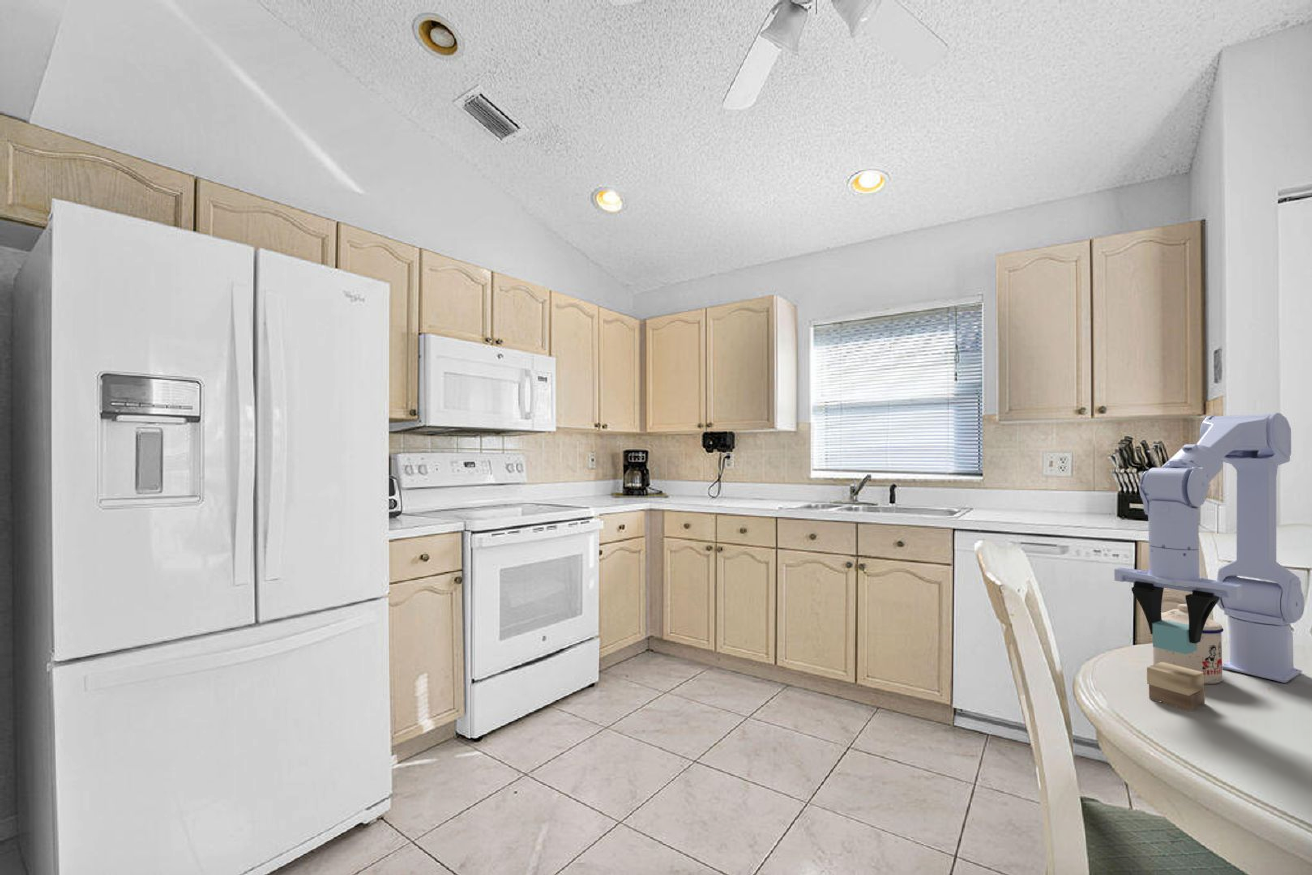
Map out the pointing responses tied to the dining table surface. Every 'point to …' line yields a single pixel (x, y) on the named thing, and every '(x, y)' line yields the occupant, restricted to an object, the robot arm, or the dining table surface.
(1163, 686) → the oak slab upper
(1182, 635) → the teal block
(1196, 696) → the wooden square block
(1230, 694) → the dining table surface
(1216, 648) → the ceramic jar
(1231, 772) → the dining table surface
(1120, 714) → the dining table surface
